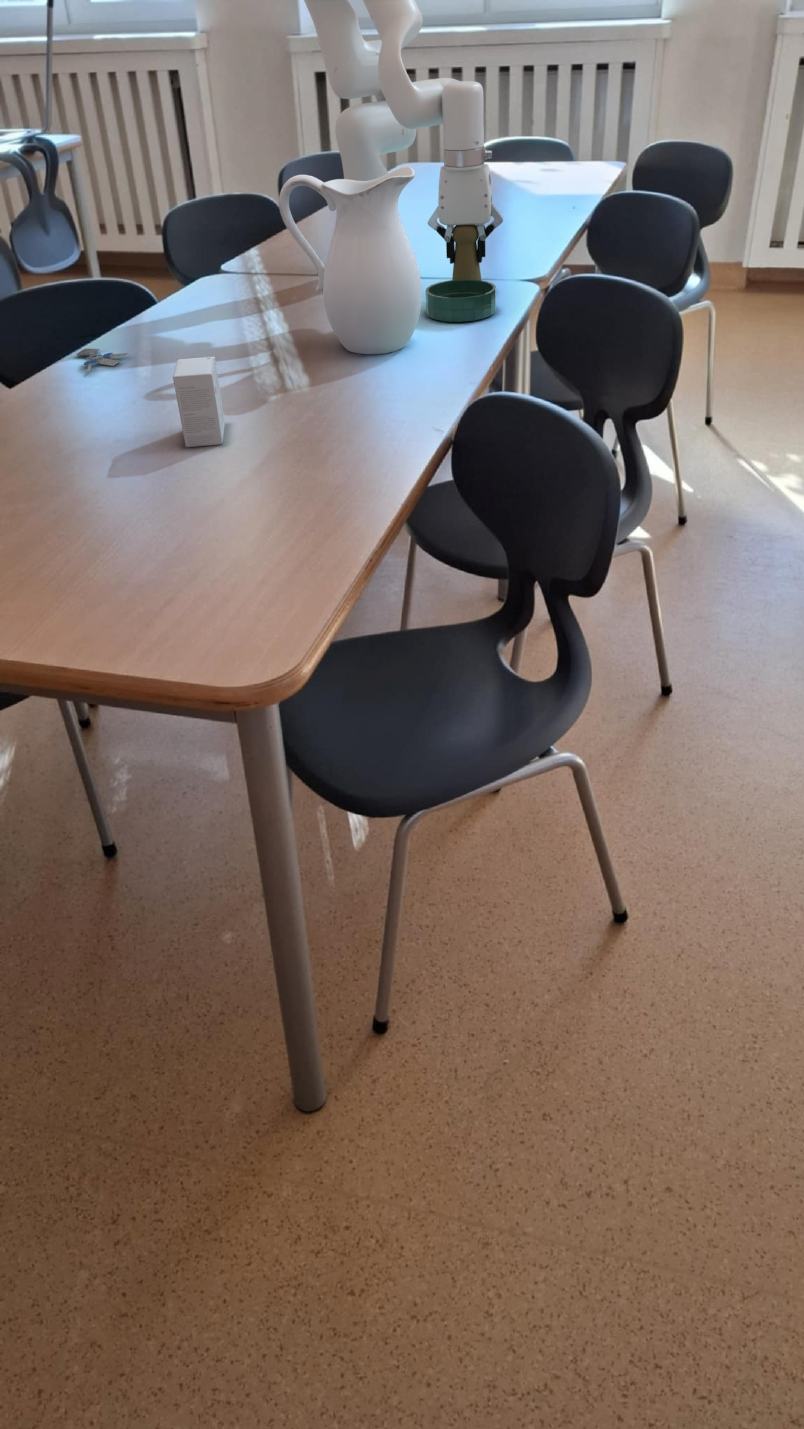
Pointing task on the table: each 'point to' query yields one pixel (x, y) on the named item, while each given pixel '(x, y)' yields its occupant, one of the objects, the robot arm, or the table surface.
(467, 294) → the bowl
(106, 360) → the key chain
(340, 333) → the pitcher
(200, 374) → the small box
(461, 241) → the cork
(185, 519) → the table surface
